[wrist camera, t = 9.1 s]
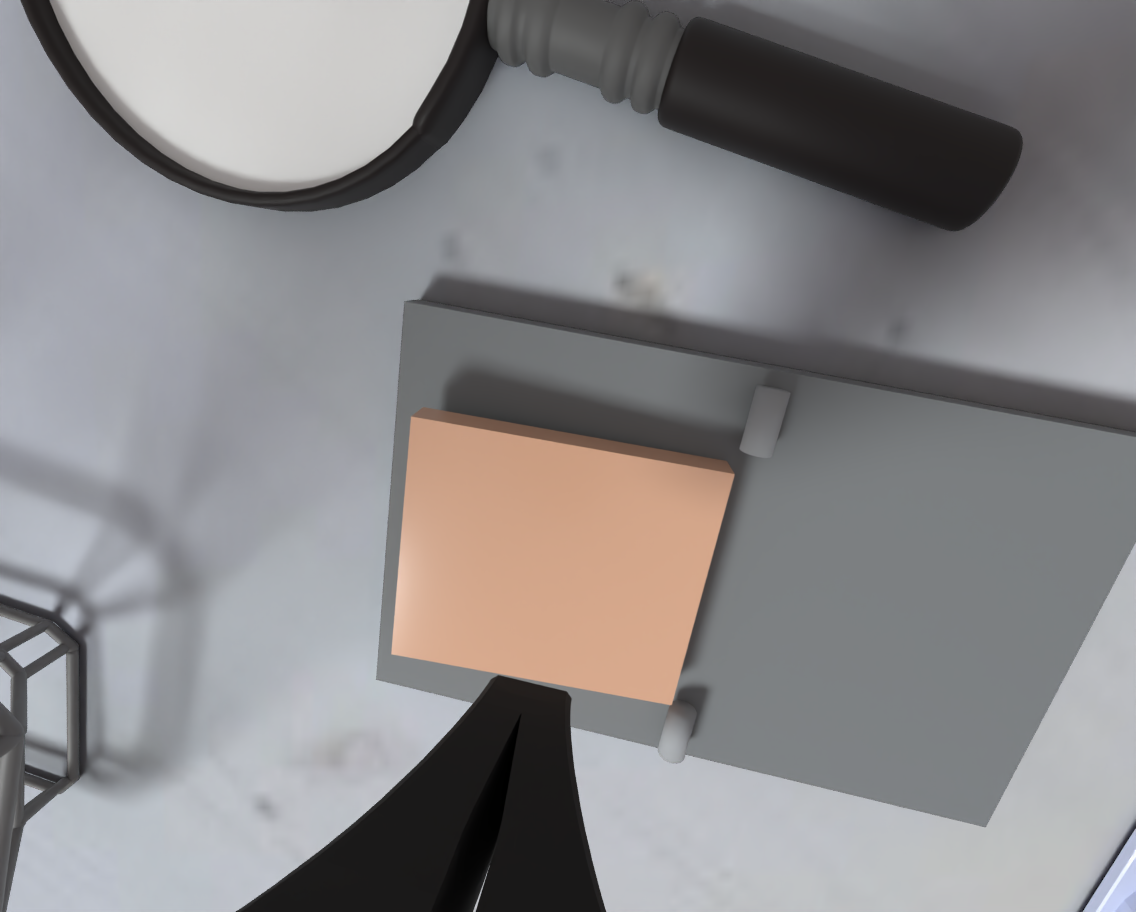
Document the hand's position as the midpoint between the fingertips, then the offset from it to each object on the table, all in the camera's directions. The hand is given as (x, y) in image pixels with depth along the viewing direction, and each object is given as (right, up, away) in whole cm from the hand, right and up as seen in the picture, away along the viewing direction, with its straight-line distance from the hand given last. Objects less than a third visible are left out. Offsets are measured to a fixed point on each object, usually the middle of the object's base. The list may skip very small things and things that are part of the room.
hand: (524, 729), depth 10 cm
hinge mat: (+5, +2, +7) cm, 9 cm away
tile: (0, +2, +5) cm, 5 cm away
